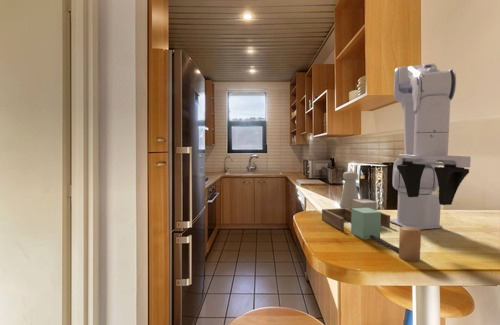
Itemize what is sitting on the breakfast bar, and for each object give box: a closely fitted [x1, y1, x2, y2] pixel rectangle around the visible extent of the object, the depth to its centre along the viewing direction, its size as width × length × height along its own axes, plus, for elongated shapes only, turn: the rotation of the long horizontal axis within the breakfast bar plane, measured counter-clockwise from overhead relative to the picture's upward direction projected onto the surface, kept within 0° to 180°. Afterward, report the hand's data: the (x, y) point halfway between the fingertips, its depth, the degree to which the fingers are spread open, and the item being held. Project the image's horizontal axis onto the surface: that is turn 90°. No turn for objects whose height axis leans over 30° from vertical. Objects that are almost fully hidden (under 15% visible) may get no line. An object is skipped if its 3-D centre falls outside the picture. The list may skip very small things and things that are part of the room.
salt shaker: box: [339, 171, 360, 208], centre depth 82 cm, size 6×6×13 cm
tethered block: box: [350, 208, 422, 263], centre depth 56 cm, size 4×17×6 cm, turn 12°
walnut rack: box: [321, 207, 391, 231], centre depth 72 cm, size 14×10×3 cm
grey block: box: [352, 198, 378, 211], centre depth 73 cm, size 4×4×6 cm
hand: (428, 200), depth 54 cm, fingers open, 7 cm apart
